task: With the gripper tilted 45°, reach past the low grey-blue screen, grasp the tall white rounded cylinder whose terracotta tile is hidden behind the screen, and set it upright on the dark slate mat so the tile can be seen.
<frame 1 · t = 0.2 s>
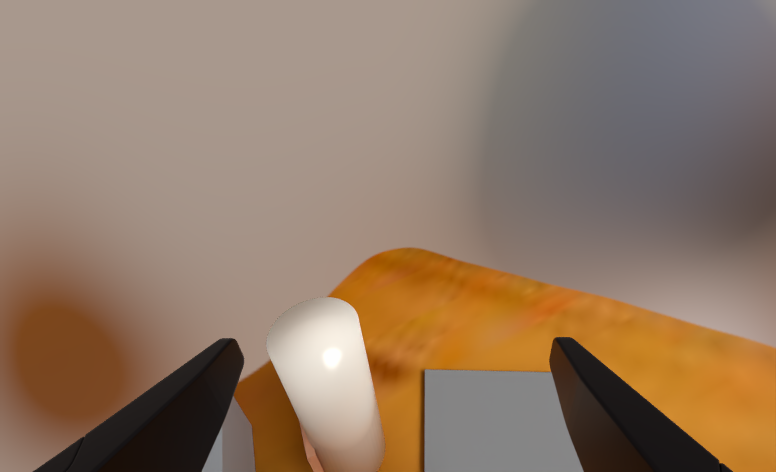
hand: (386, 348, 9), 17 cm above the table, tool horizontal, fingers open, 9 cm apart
slate mat: (517, 457, 21), on the table
white rounded cylinder: (352, 448, 23), on the table
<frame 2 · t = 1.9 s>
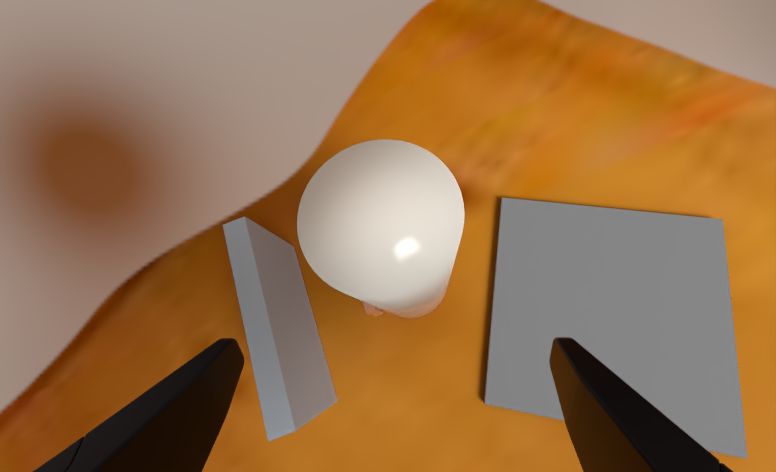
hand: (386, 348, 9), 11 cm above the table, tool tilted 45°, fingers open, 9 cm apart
slate mat: (603, 309, 18), on the table
screen: (305, 321, 20), on the table
white rounded cylinder: (409, 280, 20), on the table
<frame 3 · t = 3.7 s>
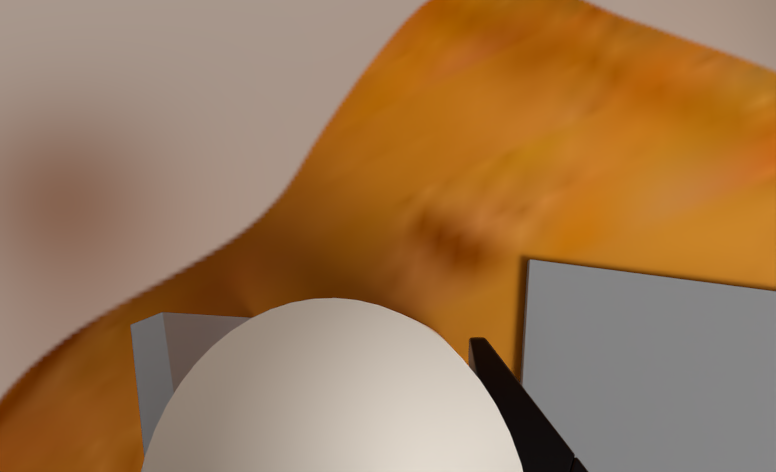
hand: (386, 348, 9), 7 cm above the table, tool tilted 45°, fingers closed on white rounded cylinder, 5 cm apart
slate mat: (675, 426, 13), on the table
screen: (266, 425, 15), on the table
white rounded cylinder: (406, 372, 15), on the table, touching gripper
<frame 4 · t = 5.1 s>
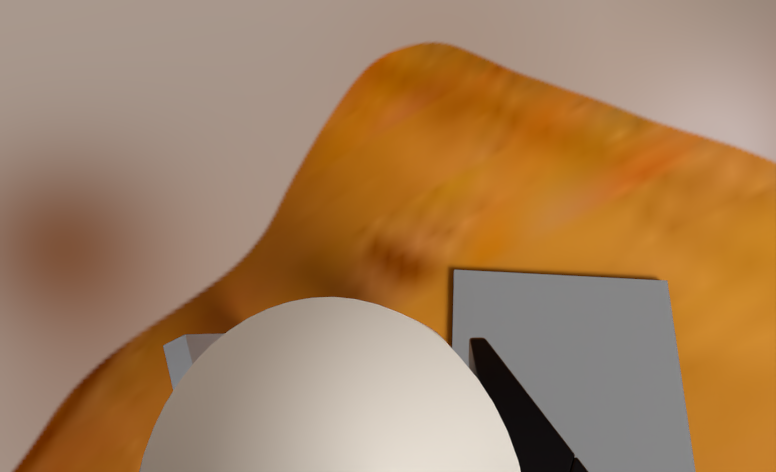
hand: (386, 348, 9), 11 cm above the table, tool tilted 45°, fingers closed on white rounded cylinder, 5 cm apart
slate mat: (559, 381, 18), on the table
screen: (266, 413, 20), on the table
white rounded cylinder: (405, 371, 15), point 5 cm above the table, touching gripper
when the fingers open (8 cm above the table, at t = 6.8 s): white rounded cylinder drops 1 cm, resting on slate mat.
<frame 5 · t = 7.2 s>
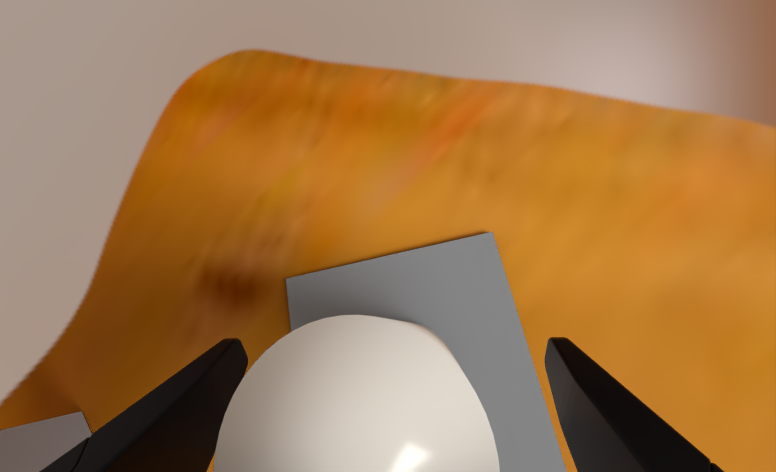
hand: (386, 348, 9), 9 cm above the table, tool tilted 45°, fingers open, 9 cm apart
slate mat: (409, 367, 17), on the table
white rounded cylinder: (408, 369, 17), resting on slate mat
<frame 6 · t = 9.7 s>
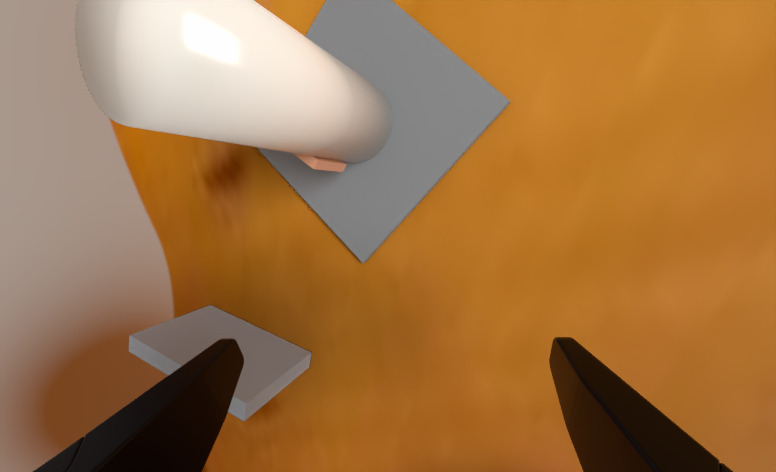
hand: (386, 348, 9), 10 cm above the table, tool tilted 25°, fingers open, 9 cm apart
slate mat: (358, 123, 19), on the table
screen: (256, 334, 25), on the table
white rounded cylinder: (355, 122, 19), resting on slate mat
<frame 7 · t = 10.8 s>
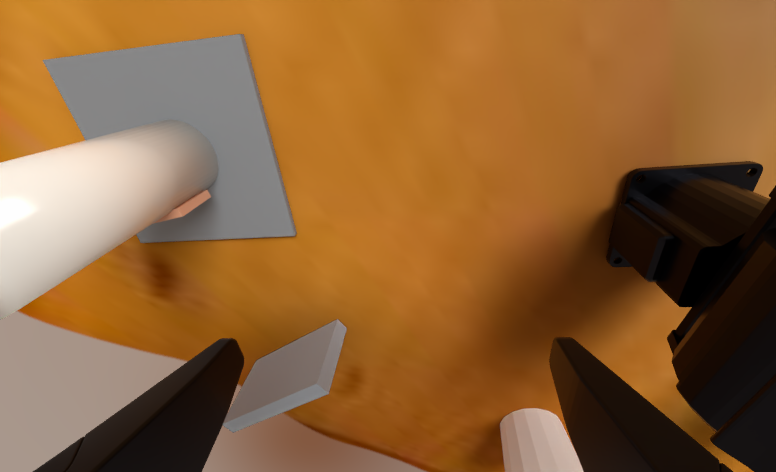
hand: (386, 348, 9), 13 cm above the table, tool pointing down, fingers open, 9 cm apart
slate mat: (185, 155, 21), on the table
screen: (299, 345, 29), on the table
white rounded cylinder: (182, 157, 21), resting on slate mat
shot glass: (529, 424, 31), on the table
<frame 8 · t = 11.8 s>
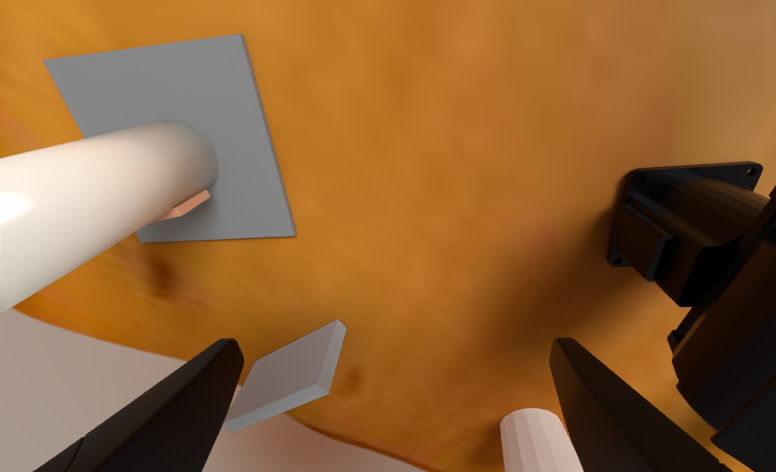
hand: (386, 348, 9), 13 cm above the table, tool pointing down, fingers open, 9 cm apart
slate mat: (185, 155, 21), on the table
screen: (299, 345, 29), on the table
white rounded cylinder: (182, 157, 21), resting on slate mat
shot glass: (529, 424, 31), on the table
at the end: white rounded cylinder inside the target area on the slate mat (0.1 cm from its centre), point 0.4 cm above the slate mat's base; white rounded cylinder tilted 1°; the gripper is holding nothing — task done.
